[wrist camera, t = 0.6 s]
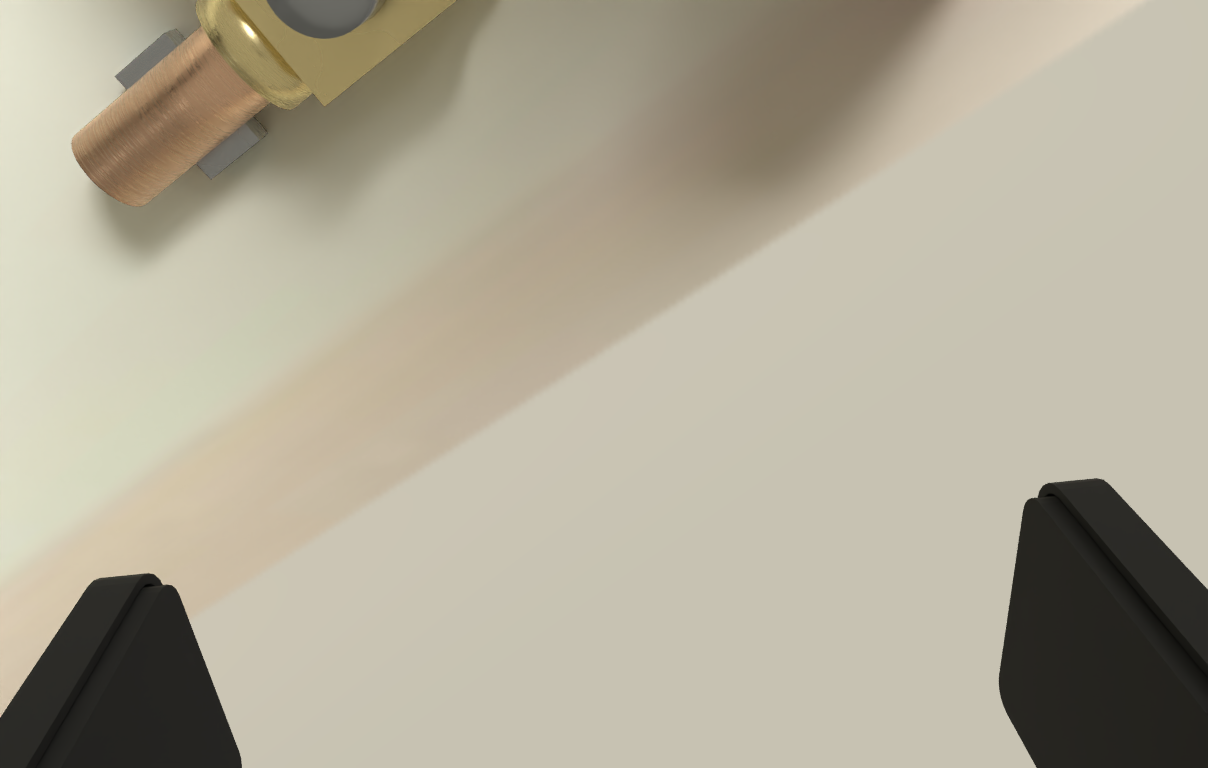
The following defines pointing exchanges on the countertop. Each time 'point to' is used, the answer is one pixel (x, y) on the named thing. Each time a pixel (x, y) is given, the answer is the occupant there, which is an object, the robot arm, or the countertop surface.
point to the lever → (324, 15)
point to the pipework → (226, 90)
